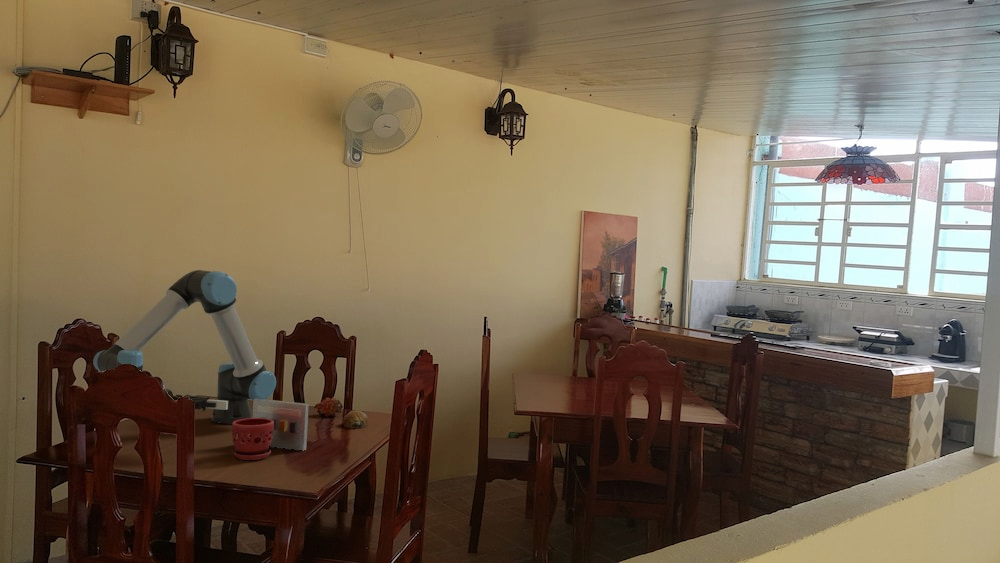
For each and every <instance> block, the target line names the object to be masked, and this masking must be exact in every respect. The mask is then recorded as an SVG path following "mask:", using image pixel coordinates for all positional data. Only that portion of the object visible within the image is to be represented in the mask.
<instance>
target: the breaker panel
mask: <svg viewBox="0 0 1000 563" xmlns="http://www.w3.org/2000/svg"><path fill="white" fill-rule="evenodd" d="M252 402H253V403H252V404H253V405H252V418H265V419H271V420H273V421H274V431H273V438H272V442H271V444H270V447H269V448H274V447H277V448H276V449H283V448H285V450H291V449H294V450H293V451H299V450H302V451H301V452H305V451H306V450H307V443H308V440H307V439H308V422H309V421H308V420H309V403H303V402H294V401H285V400H274V399H257V398H256V399H253V400H252ZM262 435H263V433H262ZM304 450H305V451H304Z"/></svg>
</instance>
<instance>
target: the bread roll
mask: <svg viewBox="0 0 1000 563" xmlns="http://www.w3.org/2000/svg"><path fill="white" fill-rule="evenodd" d="M368 424H369V417H368V415H367V414H366V413H365V412H363V411H361V410H351V411H349V412H348V413H347V414H345V416H344V417H343V428H346V427H347V428H346V429H353V428H358V429H363V428H362V427H364V428H366V427H367V426H368ZM365 426H366V427H365Z"/></svg>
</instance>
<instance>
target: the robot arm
mask: <svg viewBox="0 0 1000 563" xmlns="http://www.w3.org/2000/svg"><path fill="white" fill-rule="evenodd" d="M237 287H238V286H237V284H236V282H235V279H234V278H233V277H232V276H230V275H229V274H227V273H224V272H222V271H215V270H214V271H213V270H212V271H209V270H202V269H197V270H193V271H190V272H188V273H186V274H185V275H183V276H182V277H181V278H179V279H178V280H176V281H175V282H174V283H173V284H172V285H171V286H170V287H169V288H167V290H165V296H164V297H163V298H161V299H160V300H159V301H158V302H157V303H156V304H155V305H154V306H153V307H151V308H150V310H149V311H148V312H147V313H146V314H144V315H143V316H142V317H141V318H140V319H139V320H138V321H137V322H136V323H135V324H134V325H133V326H132V327H131V328H129V329H128V330H127V331H126V332H125V334H123V335H122V336H121V337H120V338H118V340H117V341H116V342H114V344H112V345H111V346H110V347H109V348H108V349H104V350H100V351H98V352H97V353H96V354H95V356H94V357H93V360H92V361H93V362H92V364H93V367H94V369H95V370H97V371H99V372H100V373H103V372H102V371H105V370H108V369H114V368H116V367H118V366H120V365H123V364H131V365H134V366H136V367H137V368H138V369H139V370H141V371H142V372H143V368H144V367H143V366H144V353H143V351H142V349H143V348H144V347H145V346H146V345H147V344H148V343H149V342H150V341H152V340H153V338H154V337H155V336H156V335H157V334H158V333H160V331H161V330H163V328H165V327H166V325H168V324H169V323H170V322H171V321H172V320H173V319H174V318H175V317H176V316H177V315H178V314H180V312H181V311H182V310H187V309H189V307H190V306H192V305H193V304H195V303H197V302H198V303H200V305H201V307H202V309H203V311H204V313H205V314H207V315H210V316H211V317H212V320H213V322H214V324H215V327H216V329H217V331H218V333H219V336H220V337H221V340H222V342H223V345H224V346H225V349H226V351H227V354H228V355H229V358H230V361H231V362H226V363H221V364H220V365H219V367H218V371H217V394H216V395H217V396H216V399H211V397H209V396H206V397H203V396H197V395H190V394H185V395H182V394H176V395H174V393H173V391H172V390H171V389H168V388H167V389H166V388H165V389H166V391H167V392H168V394H169V395H170V396H171V397H172V398H173V399H174V400H177V399H178V398H179V397H182V396H184V397H187V398H190V399H192V400H193V401H194V403H195V409H194V410H199V411H200V410H201V409H202V411H204V412H205V411H206V410H207V409H211V410H213V411H212V412H211V413H212V414H211V417H210V418H211V420H212V421H214V422H213V423H215V422H220V423H233V422H234V421H236V420H240V419H247V418H252V417H253V412H252V408H251V406H250V403H249V400H251V401H253V399H256V398H257V399H266V400H268V399H269V398H271V396H272V395H273V393H274V391H275V389H276V388H277V387H276V386H277V378H276V376H275V375H274V373H273V372H271V371H270V370H267V368H266V366H265V364H264V361H263V360H261V359H259V358H257V355H256V354H255V351H254V349H253V346H252V345H251V341H250V340H249V338H248V335H247V332H246V330H245V328H244V325H243V323H242V320H241V319H240V317H239V314H238V312H237V311H238V310H236V306H235V305H236V303H237V299H236V296H237V293H238V288H237ZM212 421H211V422H212Z"/></svg>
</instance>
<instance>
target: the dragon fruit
mask: <svg viewBox="0 0 1000 563" xmlns="http://www.w3.org/2000/svg"><path fill="white" fill-rule="evenodd" d="M343 407H344V406H343V404H342V402H341V401H340V400H339V399H336V398H335V397H334V396H333V397H331V398H330V397H325V398H324V399H322V400H321V401H320V402H317V404H315V405H314V406H313V409H316V413H318V414H319V415H321V416H325V417H327V418H328V417H330V416H331V417H335V416H336V414H341V413H343V412H342V409H343Z"/></svg>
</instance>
